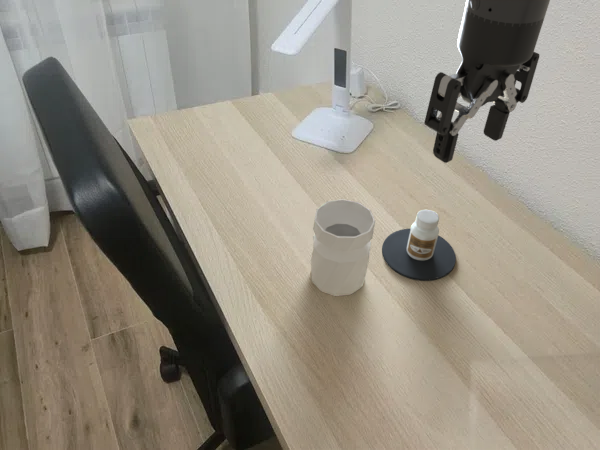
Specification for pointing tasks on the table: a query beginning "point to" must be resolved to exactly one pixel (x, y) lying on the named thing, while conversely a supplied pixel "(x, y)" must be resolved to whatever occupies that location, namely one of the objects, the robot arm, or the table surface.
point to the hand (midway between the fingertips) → (467, 147)
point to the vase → (341, 246)
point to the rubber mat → (417, 269)
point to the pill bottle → (423, 235)
